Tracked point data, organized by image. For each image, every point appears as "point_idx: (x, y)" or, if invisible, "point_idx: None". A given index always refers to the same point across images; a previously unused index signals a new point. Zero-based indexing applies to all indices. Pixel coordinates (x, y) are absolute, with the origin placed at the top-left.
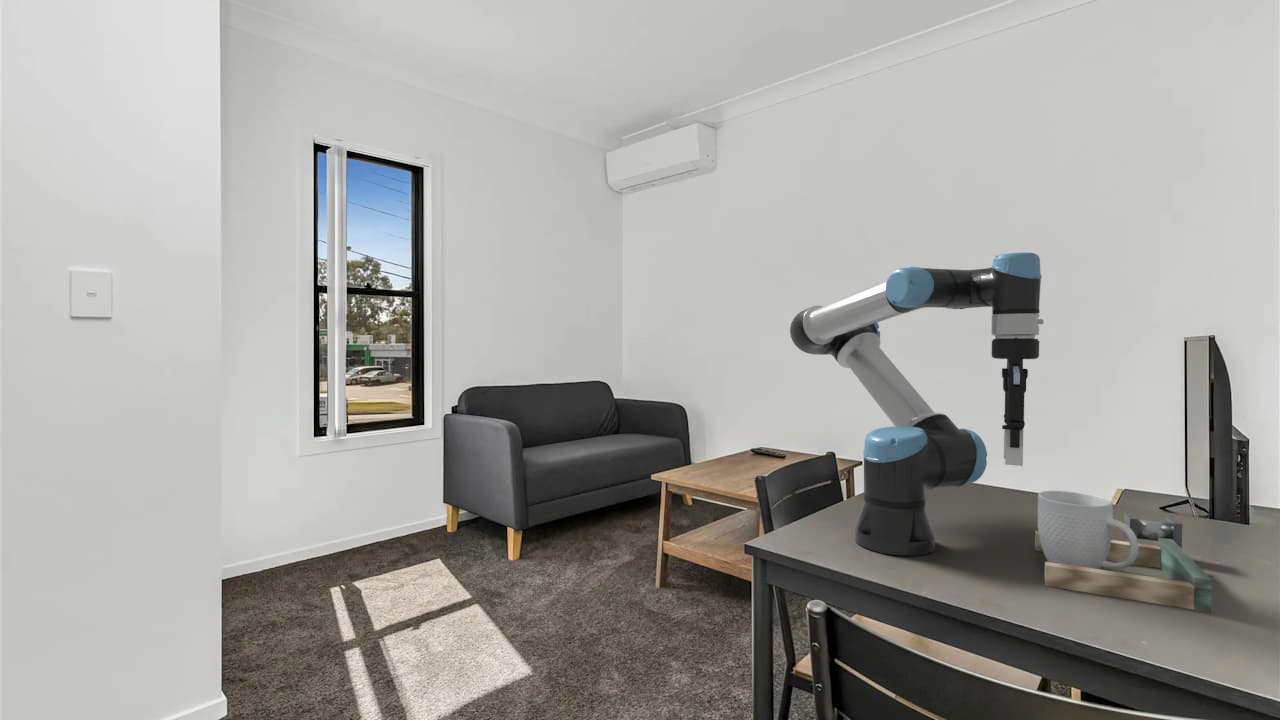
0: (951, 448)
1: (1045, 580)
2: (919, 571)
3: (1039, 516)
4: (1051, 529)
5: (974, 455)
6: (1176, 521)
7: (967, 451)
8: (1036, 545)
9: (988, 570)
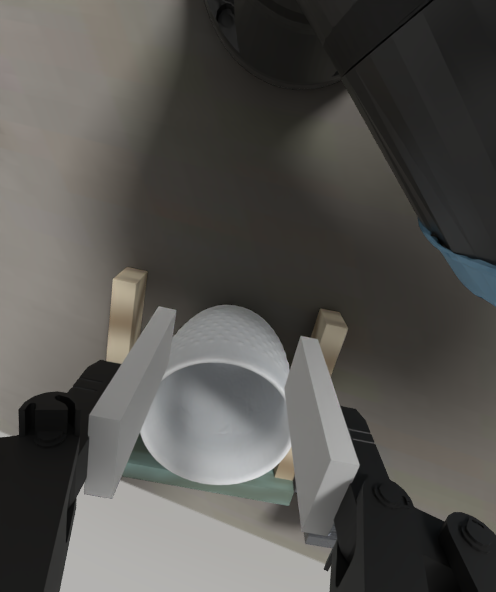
0: (440, 106)
1: (127, 270)
2: (108, 16)
3: (218, 330)
4: (183, 333)
5: (461, 246)
6: (322, 543)
7: (466, 213)
8: (321, 313)
9: (173, 185)
